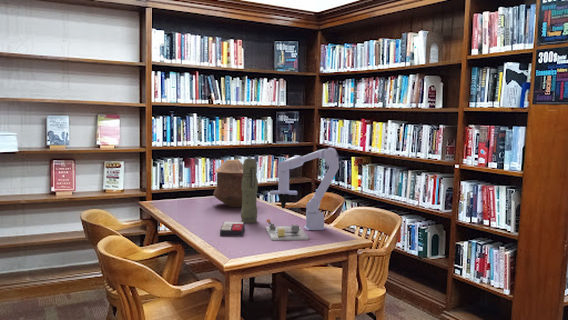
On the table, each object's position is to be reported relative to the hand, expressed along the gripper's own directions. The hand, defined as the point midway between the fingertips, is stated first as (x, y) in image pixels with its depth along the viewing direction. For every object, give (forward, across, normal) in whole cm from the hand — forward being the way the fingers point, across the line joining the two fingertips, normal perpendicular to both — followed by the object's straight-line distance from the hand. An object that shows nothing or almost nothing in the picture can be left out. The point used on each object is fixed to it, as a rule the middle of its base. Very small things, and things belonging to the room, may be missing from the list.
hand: (283, 208), depth 246 cm
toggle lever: (+8, -7, -9) cm, 14 cm away
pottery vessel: (+10, -23, +56) cm, 61 cm away
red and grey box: (+10, -28, -10) cm, 31 cm away
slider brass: (+8, -5, -24) cm, 26 cm away
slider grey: (+8, +3, -17) cm, 19 cm away
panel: (+10, -1, -16) cm, 19 cm away
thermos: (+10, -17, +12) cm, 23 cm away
